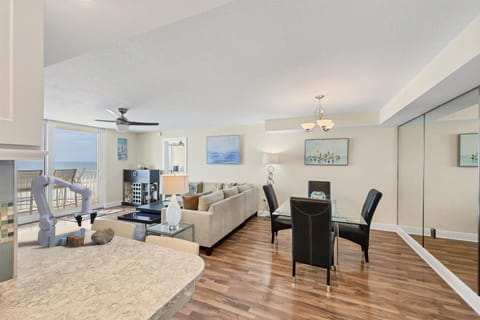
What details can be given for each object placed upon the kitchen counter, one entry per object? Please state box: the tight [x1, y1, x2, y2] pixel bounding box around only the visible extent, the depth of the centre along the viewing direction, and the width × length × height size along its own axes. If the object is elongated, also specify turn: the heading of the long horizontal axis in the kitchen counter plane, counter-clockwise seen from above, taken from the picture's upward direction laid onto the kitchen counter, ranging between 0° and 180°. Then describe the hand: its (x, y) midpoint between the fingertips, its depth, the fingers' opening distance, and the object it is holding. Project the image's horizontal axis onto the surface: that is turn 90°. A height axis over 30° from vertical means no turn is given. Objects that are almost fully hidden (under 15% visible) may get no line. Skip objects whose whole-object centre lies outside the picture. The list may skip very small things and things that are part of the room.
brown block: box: [66, 235, 85, 248], centre depth 133 cm, size 13×4×5 cm, turn 65°
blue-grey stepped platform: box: [47, 227, 86, 249], centre depth 136 cm, size 5×20×7 cm, turn 155°
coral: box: [90, 227, 115, 245], centre depth 139 cm, size 14×9×10 cm, turn 153°
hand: (85, 225), depth 144 cm, fingers open, 7 cm apart
